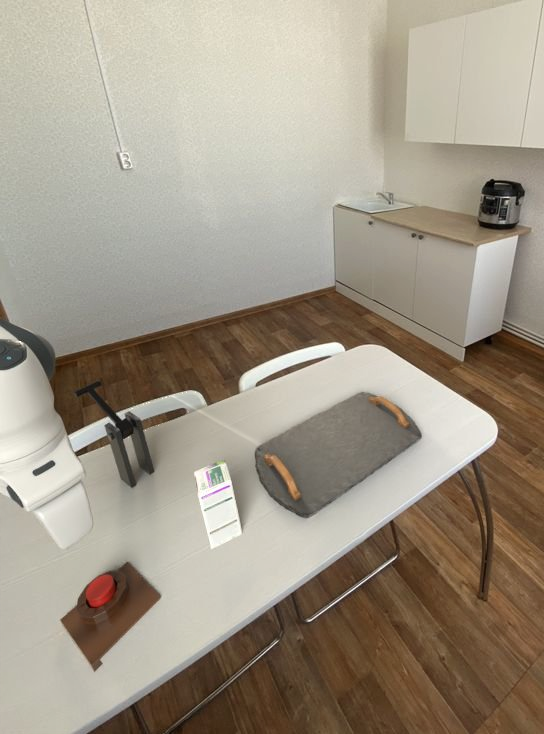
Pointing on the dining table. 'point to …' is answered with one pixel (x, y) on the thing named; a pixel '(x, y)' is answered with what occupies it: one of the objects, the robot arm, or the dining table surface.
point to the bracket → (121, 452)
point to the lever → (106, 408)
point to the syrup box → (218, 503)
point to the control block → (109, 615)
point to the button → (100, 591)
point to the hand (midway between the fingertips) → (57, 528)
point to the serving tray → (333, 452)
